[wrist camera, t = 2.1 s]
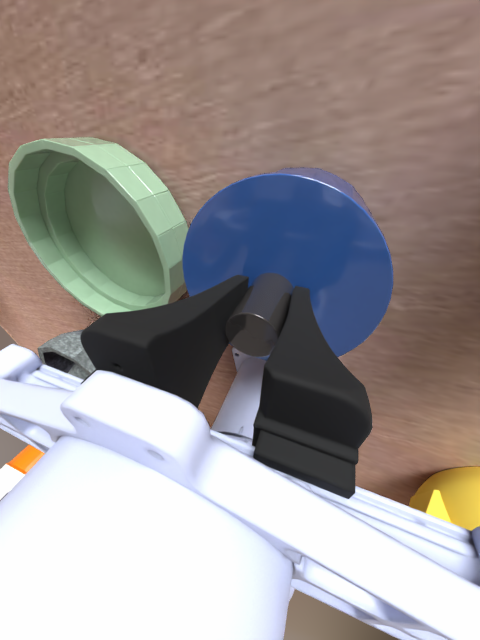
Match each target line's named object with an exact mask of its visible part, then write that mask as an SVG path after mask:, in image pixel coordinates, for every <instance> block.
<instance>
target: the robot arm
mask: <svg viewBox="0 0 480 640" xmlns="http://www.w3.org/2000/svg"><path fill="white" fill-rule="evenodd" d="M248 282H249V277H247V276H242V275H236V276H233V277H231V278H229V279H227V280H225V281H223V282H222V283H220V284H218V285H216V286H214V287H212V288H210V289H207V290H205V291H203V292H201V293H198V294H196V295H194V296H191V297H188V298H186V299H183V300H180V301H177V302H173V303H169V304H165V305H161V306H157V307H152V308H147V309H141V310H135V311H126V312H115V313H106V314H104V315H103V316H102V317H100V318H99V319H98V320H96V321H95V322H94V323H92V324H91V325H90V326H89V327H87V328H86V329H85V330H83V331H82V332H81V336H80V339H81V344H82V346H83V348H84V350H85V352H86V353H87V355H88V357H89V358H90V360H91V362H92V364H93V365H94V367H95V370H94V371H93V372H92V373H91V374H90V375H89V376H88V377H87V378H86V379H85V380H83V379H80V378H78V377H75V376H73V375H70V374H67V373H65V372H62V371H60V370H57V369H55V368H52V367H50V366H47V365H44V364H43V363H42V361H41V359H40V358H39V357H38V356H37V355H36V354H35V353H34V352H33V351H31V350H29V349H26V348H24V347H21V346H18V345H16V344H11V345H9V346H7V347H6V348H4V349H3V350H1V351H0V428H1V429H3V430H5V431H7V432H8V433H10V434H12V435H14V436H15V437H17V438H19V439H21V440H22V441H24V442H26V443H28V444H29V445H31V446H33V447H35V448H36V449H38V450H40V451H41V452H43V453H45V454H44V455H43V456H42V457H41V459H40V460H39V461H38V462H37V463H36V464H35V465H34V466H33V467H32V468H31V469H30V470H29V471H28V472H27V473H26V474H25V475H24V477H23V478H22V479H21V480H20V481H19V482H18V483H17V484H16V485H15V486H14V487H13V488H12V489H11V490H10V491H9V492H8V493H7V494H6V496H5V497H4V498H3V499H2V500H1V501H0V640H283V638H284V631H285V623H286V617H287V609H288V603H289V600H290V599H291V597H292V595H293V593H294V589H297V590H299V591H301V592H303V593H305V594H307V595H309V596H311V597H313V598H315V599H317V600H319V601H321V602H323V603H325V604H328V605H330V606H332V607H334V608H336V609H338V610H340V611H342V612H344V613H346V614H348V615H350V616H352V617H354V618H357V619H359V620H360V621H363V622H365V623H367V624H369V625H371V626H373V627H375V628H377V629H379V630H381V631H383V632H385V633H387V634H389V635H392V636H393V637H396V638H398V639H400V640H480V526H478V527H476V528H475V529H473V530H472V531H470V530H468V529H465V528H463V527H460V526H458V525H455V524H452V523H450V522H447V521H445V520H442V519H440V518H437V517H434V516H432V515H429V514H427V513H424V512H422V511H419V510H416V509H414V508H411V507H409V506H406V505H404V504H401V503H398V502H396V501H393V500H391V499H388V498H386V497H383V496H381V495H378V494H375V493H373V492H370V491H368V490H365V489H363V488H360V487H357V486H355V464H357V463H358V448H359V447H360V446H361V444H362V443H363V442H364V441H365V439H366V438H367V437H368V435H369V434H370V432H371V430H372V413H371V408H370V403H369V399H368V396H367V392H366V389H365V387H364V385H363V384H362V383H361V382H360V381H359V380H358V379H356V378H355V377H354V376H353V375H352V374H351V373H350V372H349V371H348V370H347V368H346V367H345V366H344V365H343V364H342V363H341V361H340V360H339V359H338V358H337V356H336V355H335V353H334V352H333V351H332V349H331V348H330V346H329V345H328V343H327V341H326V340H325V338H324V336H323V334H322V332H321V330H320V328H319V326H318V323H317V321H316V318H315V316H314V312H313V309H312V305H311V300H310V290H309V289H308V288H304V287H299V286H295V288H294V290H293V292H292V297H291V302H290V307H289V312H288V316H287V320H286V322H285V324H284V327H283V329H282V332H281V334H280V336H279V338H278V340H277V342H276V344H275V347H274V349H273V351H272V352H271V354H270V356H269V358H268V360H267V361H265V360H262V359H259V358H256V357H253V356H249V355H246V354H244V353H242V352H240V351H239V350H237V349H236V348H235V347H233V348H232V353H233V357H234V361H235V365H236V370H237V375H236V377H235V379H234V381H233V383H232V385H231V387H230V390H229V392H228V394H227V396H226V398H225V400H224V402H223V404H222V406H221V409H220V411H219V413H218V415H217V417H216V419H215V421H214V423H213V425H212V428H211V429H210V427H209V424H208V422H207V420H206V418H205V416H204V414H203V413H202V412H201V411H200V410H199V409H198V406H199V404H200V401H201V399H202V397H203V394H204V392H205V389H206V387H207V385H208V383H209V380H210V378H211V376H212V374H213V372H214V370H215V367H216V365H217V363H218V361H219V359H220V357H221V356H222V354H223V352H224V351H225V349H226V347H227V346H228V344H229V343H230V342H229V340H228V339H227V337H226V334H225V324H226V322H227V320H228V318H229V317H230V315H231V314H232V312H233V311H234V309H235V308H236V306H237V305H238V303H239V302H240V300H241V299H242V297H243V295H244V294H245V292H246V291H247V289H248ZM237 353H238V354H237Z"/></svg>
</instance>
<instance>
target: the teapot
mask: <svg viewBox="0 0 480 640" xmlns="http://www.w3.org/2000/svg"><path fill="white" fill-rule="evenodd" d="M409 507H411V508H414V509H416V510H419V511H422V512H424V513H427V514H429V515H432V516H434V517H437V518H440V519H442V520H445V521H447V522H450V523H452V524H455V525H458V526H460V527H463V528H465V529H468V530H470V531H472V530H473V529H475V528H476V527H478V526H480V466H478V467H460V468H453V469H448V470H444V471H441V472H438V473H436V474H434V475H432V476H431V477H429V478H428V479H427V480H426V481H425V482H424V483H423V484H422V485H421V486H420V488H419V489H418V490H417V492H416V493H415V495H414V496H412V497H411V498H410V503H409Z"/></svg>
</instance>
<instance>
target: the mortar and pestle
mask: <svg viewBox="0 0 480 640" xmlns="http://www.w3.org/2000/svg"><path fill="white" fill-rule="evenodd" d="M82 331H83V330H79V331H74V332H69V333H64V334H61V335H59V336H57V337H55V338H53V339H51V340H49V341H47V342H46V343H44V344H43V345H41V346H40V347H39V348H37V349H38V353H39V357H40V359H41V361H42V363H43V364H44V365H47V366H50V367H52V368H55V369H57V370H60V371H62V372H65V373H67V374H70V375H73V376H75V377H78V378H80V379H83V380H85V379H86V378H87V377H88V376H89V375H90V374H91V373H92V372H93V371H94V370H95V367H94V365H93V364H92V362H91V360H90V358H89V357H88V355H87V353H86V352H85V350H84V348H83V346H82V344H81V339H80V336H81V332H82Z"/></svg>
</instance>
